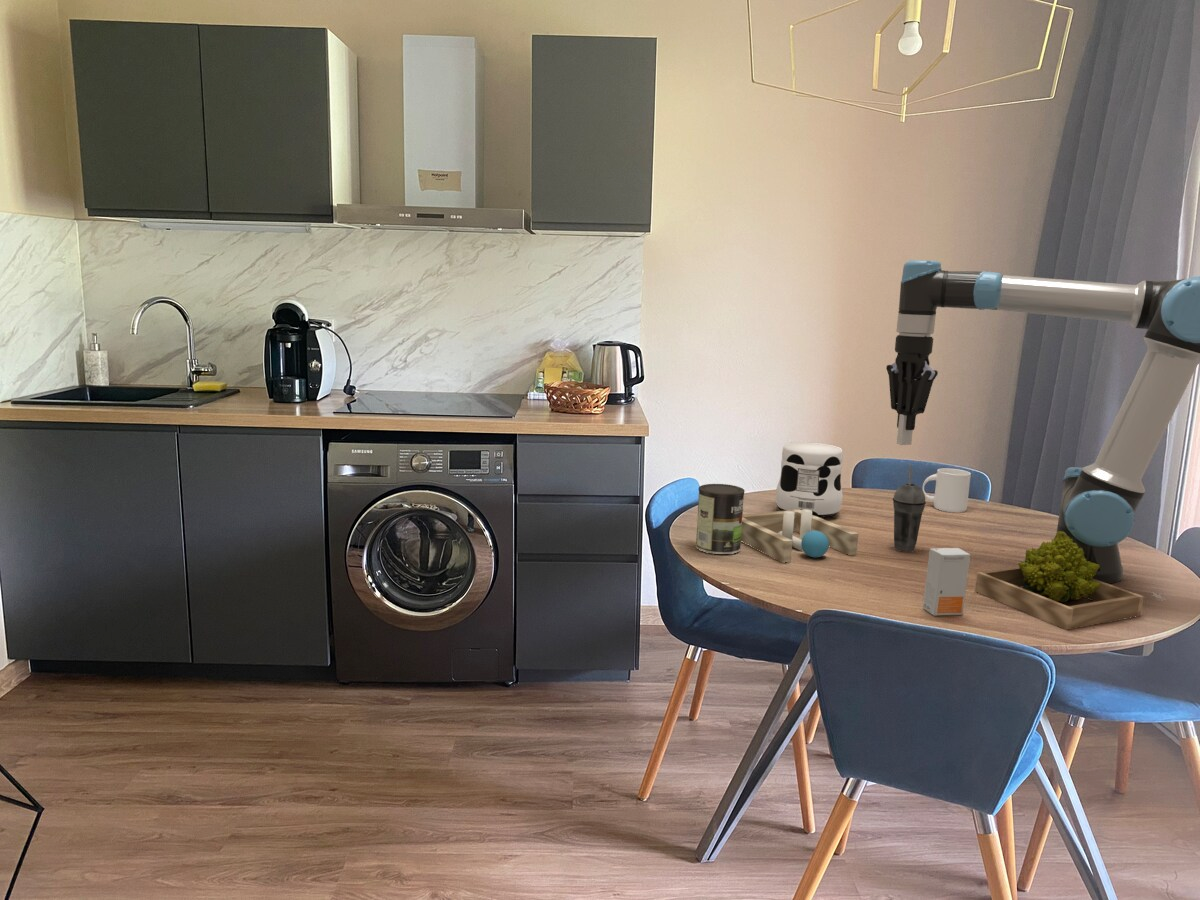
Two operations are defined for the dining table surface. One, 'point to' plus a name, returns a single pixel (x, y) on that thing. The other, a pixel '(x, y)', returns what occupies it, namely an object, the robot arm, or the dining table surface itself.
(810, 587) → the dining table surface
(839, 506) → the milk container
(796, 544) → the pin front
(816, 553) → the ball
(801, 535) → the pin back right
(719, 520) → the coffee can
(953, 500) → the mug
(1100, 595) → the crate
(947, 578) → the skincare box
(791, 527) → the pin back left
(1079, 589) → the vegetable
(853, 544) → the bumper
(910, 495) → the beverage cup
